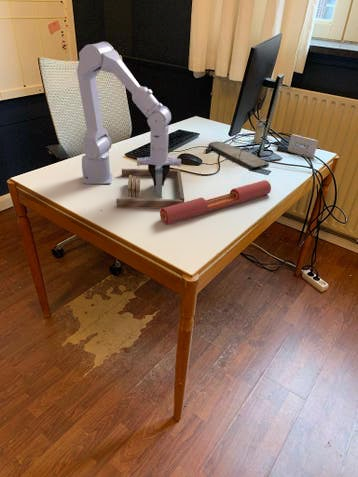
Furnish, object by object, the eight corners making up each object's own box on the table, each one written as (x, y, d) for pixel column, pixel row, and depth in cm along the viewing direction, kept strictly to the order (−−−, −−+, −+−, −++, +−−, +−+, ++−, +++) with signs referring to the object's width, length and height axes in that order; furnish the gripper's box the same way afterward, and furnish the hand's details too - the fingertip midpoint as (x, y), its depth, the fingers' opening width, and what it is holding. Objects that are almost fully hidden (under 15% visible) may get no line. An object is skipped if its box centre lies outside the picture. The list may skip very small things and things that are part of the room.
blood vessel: (260, 190, 129) (262, 177, 126) (269, 196, 125) (272, 183, 122) (159, 219, 109) (159, 205, 106) (167, 227, 106) (168, 213, 103)
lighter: (257, 143, 168) (261, 122, 162) (251, 141, 170) (254, 120, 164) (266, 140, 172) (270, 119, 166) (259, 138, 174) (263, 117, 169)
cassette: (314, 157, 157) (318, 140, 153) (312, 158, 156) (317, 141, 151) (288, 150, 163) (292, 133, 158) (286, 151, 162) (290, 134, 157)
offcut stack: (127, 197, 119) (127, 187, 117) (129, 184, 128) (129, 174, 126) (139, 197, 120) (139, 188, 118) (140, 184, 128) (139, 175, 126)
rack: (116, 207, 113) (116, 199, 112) (122, 174, 133) (121, 167, 131) (184, 208, 115) (184, 199, 113) (179, 175, 135) (179, 168, 133)
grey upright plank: (155, 197, 120) (156, 175, 115) (155, 184, 128) (155, 163, 124) (161, 197, 120) (162, 175, 116) (161, 184, 128) (161, 163, 124)
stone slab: (222, 139, 165) (271, 159, 145) (222, 145, 167) (270, 166, 147) (205, 143, 160) (253, 164, 140) (205, 150, 162) (252, 172, 142)
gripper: (136, 150, 111) (137, 189, 119) (182, 151, 112) (180, 190, 120) (137, 142, 117) (137, 180, 125) (180, 143, 118) (179, 181, 126)
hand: (158, 184), depth 123 cm, fingers closed on grey upright plank, 2 cm apart
